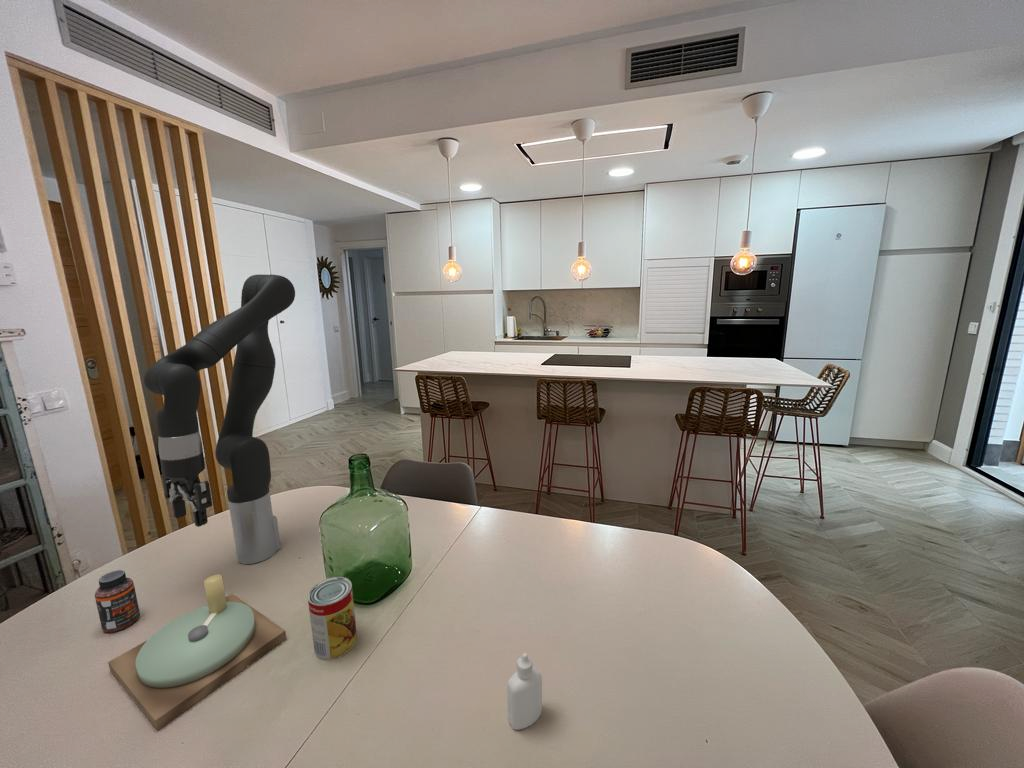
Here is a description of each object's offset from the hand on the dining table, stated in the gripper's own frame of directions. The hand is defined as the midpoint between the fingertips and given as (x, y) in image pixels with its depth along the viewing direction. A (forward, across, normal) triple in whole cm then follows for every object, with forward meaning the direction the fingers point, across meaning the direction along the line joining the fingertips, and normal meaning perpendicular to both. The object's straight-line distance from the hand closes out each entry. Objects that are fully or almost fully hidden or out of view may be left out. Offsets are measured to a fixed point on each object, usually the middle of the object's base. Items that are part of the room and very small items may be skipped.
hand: (190, 520), depth 94 cm
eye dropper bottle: (+18, -81, -5) cm, 83 cm away
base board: (+18, -20, +10) cm, 29 cm away
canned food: (+18, -41, -3) cm, 45 cm away
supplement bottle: (+18, +4, +13) cm, 23 cm away
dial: (+16, -20, +10) cm, 28 cm away
